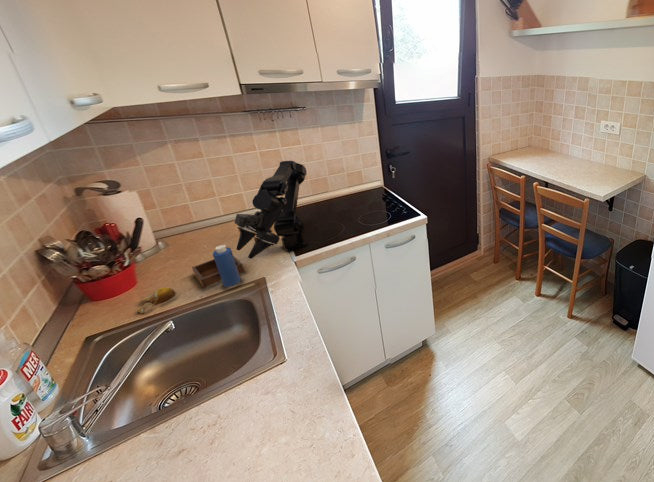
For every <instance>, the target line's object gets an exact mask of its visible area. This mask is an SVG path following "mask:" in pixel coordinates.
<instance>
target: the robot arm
mask: <svg viewBox="0 0 654 482" xmlns="http://www.w3.org/2000/svg"><path fill="white" fill-rule="evenodd" d="M307 173H308V172H307V168H306V167H305V165H304V164H301V163H298V162H296V161H294V160H282V161H279V166H278V167H277V169H276V170H275V172H274V174H273V175H272V176H270V177H266V179H265V180H263V181H262V183H261V184H260V187H259V189H258V192H257V193H256V194H255V196H254V197H253V198H252V205H253V207H254V208H256V209H257V211H255V213H254V214H250V213H249V214H248V213H236V215H235V219H234V224H236V226H237V229H238V231H239V238H238V241H237V245H236V247H235V250H236V251H241V250H242V249H243V248H244V247H245V246H246V245H248V244H249V242H250V241H252V240H253V239H254V244H253V246H252V248H251V249H250V252H249V254H248V256H247V258H248V259H251V260H252V259H253V258H255V257H256V256H258V255H259V254H261V253H262V252H263V251H265V250H267V249H268V248H270V247H273V246H274V245H278V243H279V241H281V245H282V248H283V249H285V250H286V251H288V252H293V251H295V250H297V249H300V248H302V247H305V246H306V243H305V242H304V239H303V233H305V226H304V223H303V222H302V221H301V220H300V218H299V216H298V215H297V208H298V198H299V191H300V185H301V184H302V183H303V182H304V181H305V179H306V176H307ZM258 210H260V211H258ZM272 228H273V229H274V232H275V233H273V230H272ZM280 237H281V238H280Z"/></svg>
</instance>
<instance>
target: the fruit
mask: <svg viewBox="0 0 654 482" xmlns="http://www.w3.org/2000/svg"><path fill="white" fill-rule="evenodd" d="M175 296H176V291H175V290H174V289H173V288H171V287H159V288H158V289H156V291H154V292H152V294H149V295H148V296H146V297H145V298H143V299H142V301H144V300H145V301H144V303H145V304H143V303H140V305H143V306H146V307H153V306H155V305H160V304H163V303H166V302H168V301H170V300H171V299H173V298H174V297H175ZM144 308H145V307H142V308H141V309H139V310H138V313H141V314H142V313H145V312H146V310H145V309H144Z"/></svg>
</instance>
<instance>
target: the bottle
mask: <svg viewBox="0 0 654 482" xmlns="http://www.w3.org/2000/svg"><path fill="white" fill-rule="evenodd" d="M212 256H213V259H215V262H216V265H217V268H218V271H219V274H220V277H221V282H222V285H223V287H225V288H231V287H234V286H237V285H238V284H239V283H240V282H242V279H241V276H240V273H239V272H238V269H237V266H236V263H235V260H234V257H235V256H234V254H233V251H232V248H231V247H229V246H228V247H227V246H226V245H225V244H220V245H218V246H216V247H215V250H214V251H213V252H212ZM233 256H234V257H233Z"/></svg>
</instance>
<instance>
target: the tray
mask: <svg viewBox="0 0 654 482" xmlns="http://www.w3.org/2000/svg"><path fill="white" fill-rule="evenodd" d="M233 257H234V260H235V263H236V266H237V269H238V272H239V274H241V273H243V272H245V269H244V266H243V263H242V262H240V260H239V259H238V258H237V257H236V256H235V255H233ZM191 270H192V272H193V274H194V276H195V278H196V279H197V280H198V282H199V283H200V284H201V286H202V287H203V288H208V287H209V286H211V285H214V284H217V283H219V282H222V280H221V277H220V274H219V271H218V268H217V265H216V262H215V259H214V258H213V259H210V260H207V261H205V262H202V263H199V264H197V265H194V266H191Z"/></svg>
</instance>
